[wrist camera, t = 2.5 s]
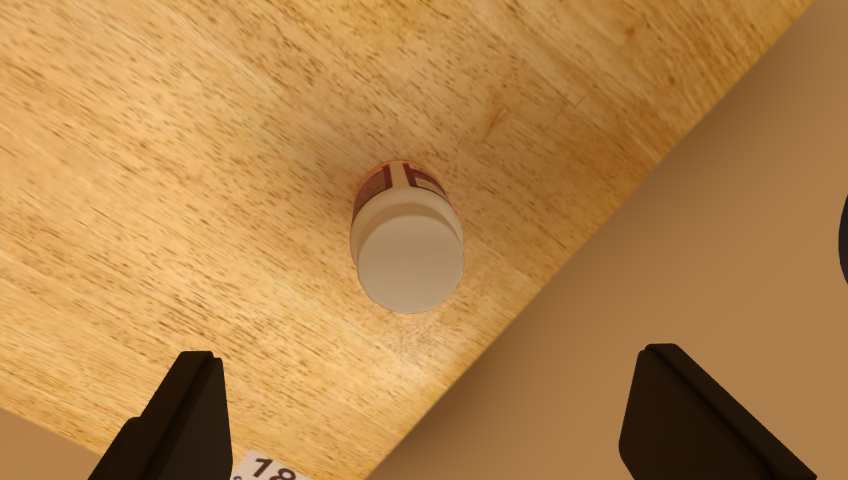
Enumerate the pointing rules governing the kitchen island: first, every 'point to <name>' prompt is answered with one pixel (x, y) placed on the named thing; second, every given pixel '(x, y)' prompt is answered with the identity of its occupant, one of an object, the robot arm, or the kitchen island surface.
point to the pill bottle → (406, 238)
